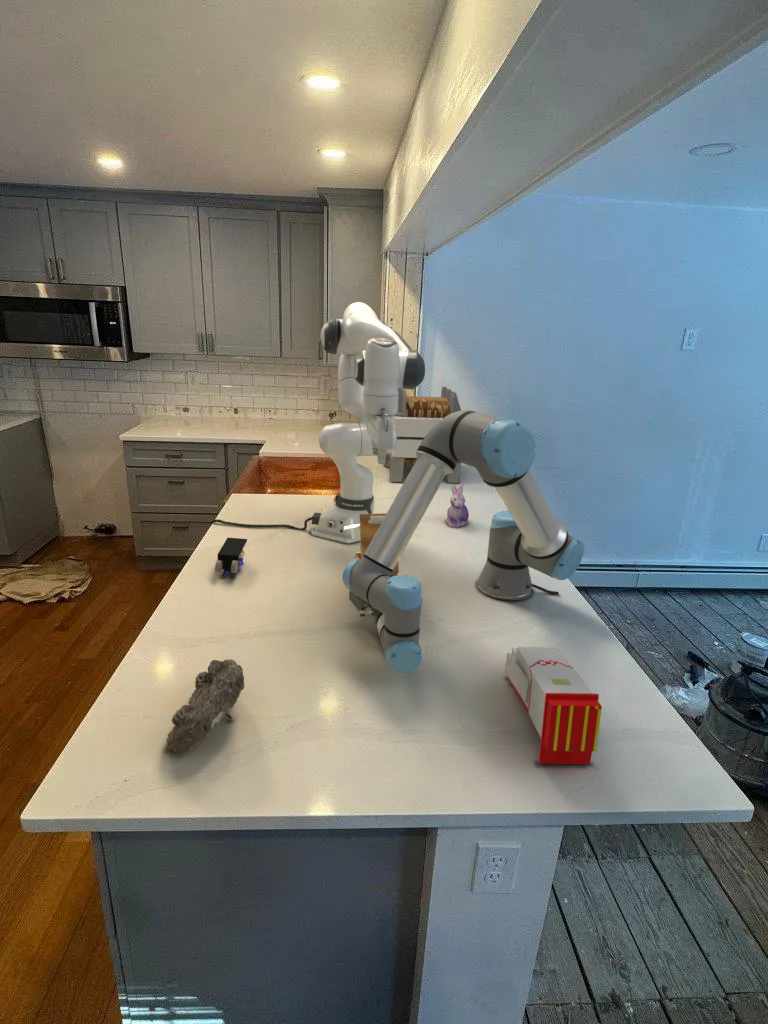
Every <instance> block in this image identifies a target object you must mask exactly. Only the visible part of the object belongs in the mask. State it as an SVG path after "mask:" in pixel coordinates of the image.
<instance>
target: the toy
mask: <svg viewBox="0 0 768 1024" xmlns="http://www.w3.org/2000/svg"><path fill="white" fill-rule="evenodd" d="M505 659H506V660H505V667H504V673H505V674H506V676H507V679H508V681H509V682H510V685H511V686H512V688H513V689H514V691H515V693H516V694H517V696H518V698H519V700H520V701H521V703H522V705H523V706H524V708H525V710H526V711H527V713H528V716H529V718H530V720H531V722H532V723H533V726H534V728H535V729H536V732H537V733H538V735H539V737H540V746H539V755H538V764H542V765H543V764H545V765H547V764H549V765H554V764H556V765H591V763H592V756H593V752H597V750H598V749H597V748H598V741H599V732H600V725H601V717H602V708H603V706H602V704H601V703H600V701H599V697H600V694H599V693H593V692H592V690H590V688H589V687H588V685H587V684H586V683H585V681H583V679H582V678H581V676H580V675H579V673H578V672H577V670H576V669H575V668H574V667H573V665H572V664H571V662H569V660H568V659H567V657H566V656H565V653H563V652H562V651H561V649H560V648H559V647H550V646H549V647H548V646H547V647H545V646H517V647H511V653H510V652H507V653H506V658H505Z"/></svg>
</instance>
